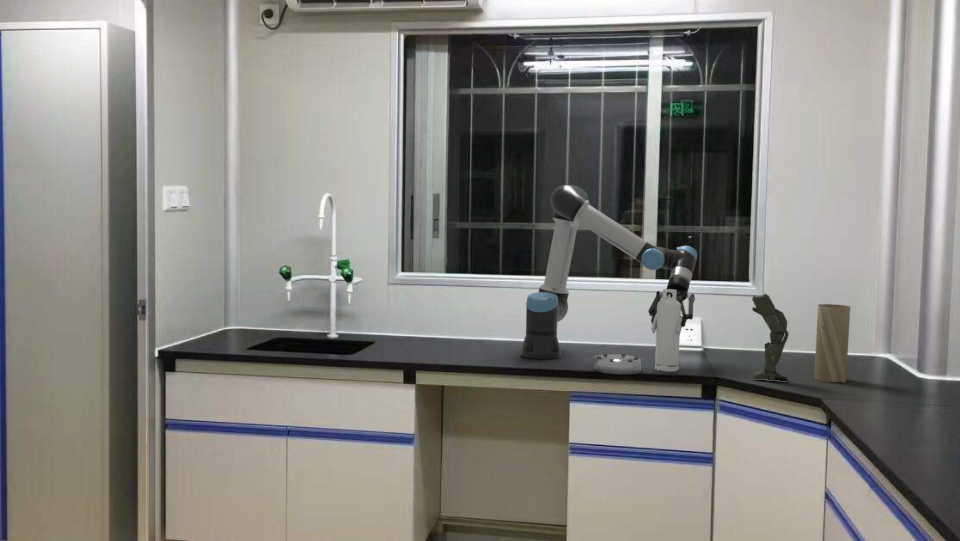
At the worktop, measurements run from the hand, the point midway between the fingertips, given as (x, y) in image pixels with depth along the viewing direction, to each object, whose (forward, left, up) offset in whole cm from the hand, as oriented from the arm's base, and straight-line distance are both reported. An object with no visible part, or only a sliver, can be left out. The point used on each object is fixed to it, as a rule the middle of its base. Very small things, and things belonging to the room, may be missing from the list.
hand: (665, 331), depth 290 cm
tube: (+54, -11, -14) cm, 57 cm away
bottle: (+2, +3, -14) cm, 14 cm away
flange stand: (-16, 0, -14) cm, 21 cm away
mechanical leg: (+32, -13, -14) cm, 37 cm away
